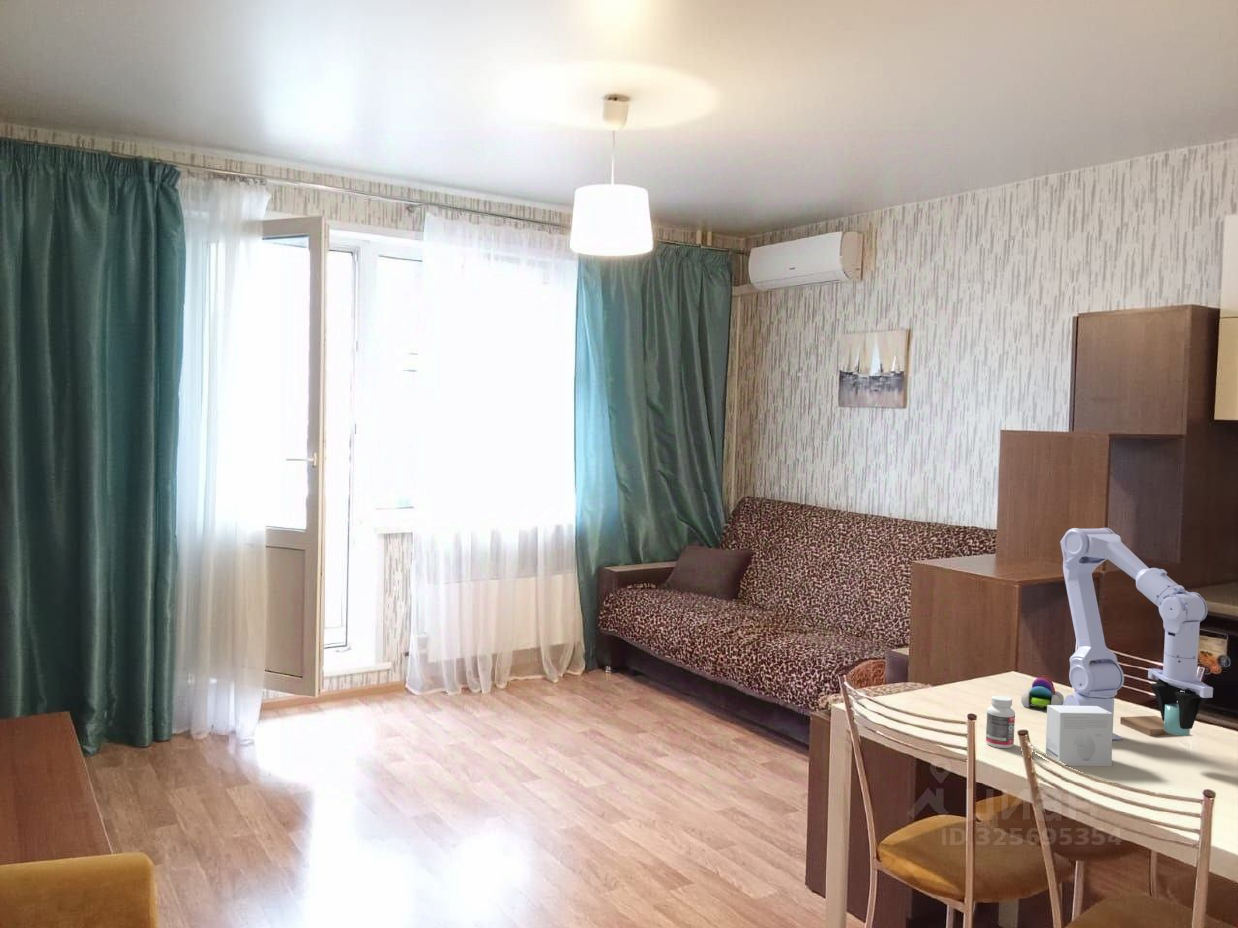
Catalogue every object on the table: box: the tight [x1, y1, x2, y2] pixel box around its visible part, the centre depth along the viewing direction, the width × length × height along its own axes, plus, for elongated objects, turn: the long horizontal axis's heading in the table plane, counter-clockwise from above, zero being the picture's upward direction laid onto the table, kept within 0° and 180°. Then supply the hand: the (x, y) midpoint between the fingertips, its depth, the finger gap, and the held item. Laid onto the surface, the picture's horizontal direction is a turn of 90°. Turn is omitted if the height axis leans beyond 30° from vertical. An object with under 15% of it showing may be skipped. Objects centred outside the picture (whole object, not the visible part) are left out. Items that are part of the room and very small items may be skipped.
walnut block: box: [1119, 715, 1175, 737], centre depth 215 cm, size 9×9×2 cm
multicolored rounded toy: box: [1020, 676, 1065, 709], centre depth 232 cm, size 8×10×7 cm
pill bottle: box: [985, 695, 1016, 749], centre depth 203 cm, size 5×5×10 cm
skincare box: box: [1045, 705, 1114, 767], centre depth 194 cm, size 10×6×10 cm, turn 91°
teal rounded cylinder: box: [1164, 703, 1191, 736], centre depth 192 cm, size 4×4×5 cm
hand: (1177, 724), depth 192 cm, fingers closed on teal rounded cylinder, 4 cm apart
